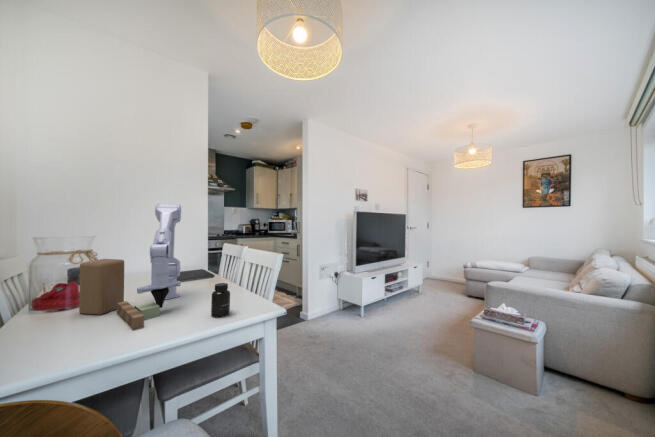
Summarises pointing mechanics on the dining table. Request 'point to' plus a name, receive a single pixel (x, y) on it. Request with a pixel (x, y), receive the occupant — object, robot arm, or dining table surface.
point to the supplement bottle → (220, 300)
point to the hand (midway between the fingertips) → (159, 307)
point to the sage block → (148, 309)
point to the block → (101, 286)
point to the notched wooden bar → (130, 315)
